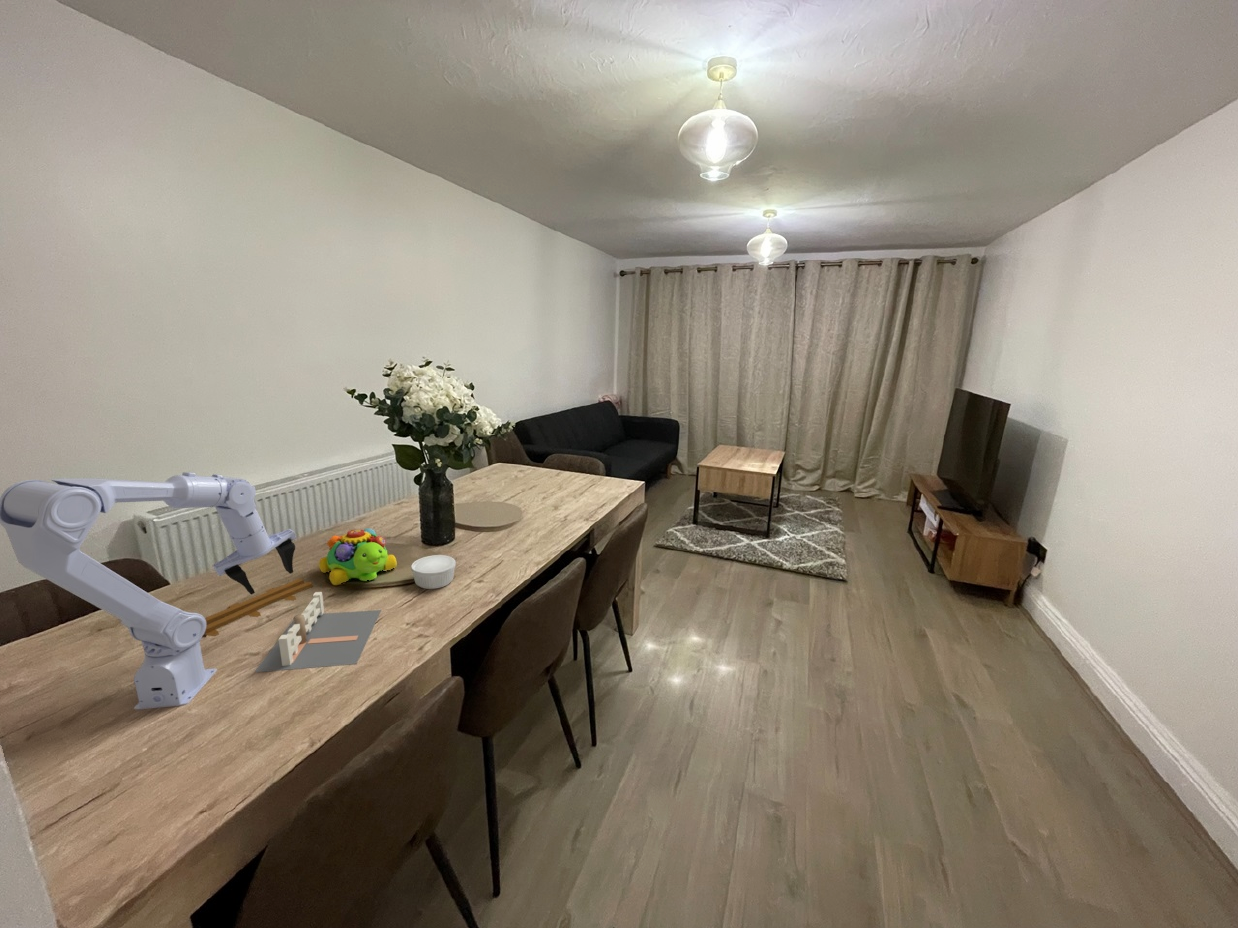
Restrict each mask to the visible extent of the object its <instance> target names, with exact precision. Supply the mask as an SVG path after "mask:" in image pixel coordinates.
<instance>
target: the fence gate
mask: <svg viewBox="0 0 1238 928" xmlns="http://www.w3.org/2000/svg"><path fill="white" fill-rule="evenodd" d="M324 606H325V605H324V597H323V592H322V591H315V592H314V593H313V595H312V599H311V601H310V602H309V604H308V605H307V606H306V608H305V609H304V610H303V612H302V613H301V614H300V615H304V620H305V628H306V633H307V632H310V631H311V629H312V628H311V625H312V624H315V623H316V622H317V616H319V615H323V614H325V609H324V608H325V607H324Z"/></svg>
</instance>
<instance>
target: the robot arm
mask: <svg viewBox="0 0 1238 928" xmlns="http://www.w3.org/2000/svg"><path fill="white" fill-rule="evenodd" d="M50 481H51V482H53V483H51V482H49V481H46V480H41V479H27V480H21V481H19V482H15V483H14V484H12V485H10V486H9V487H7V488H6V489H5V490H4V491H3V493H2V494H1V495H0V526H2V527H3V529H4V530H5V531H6V534H7V537H8V539H9V542H10V544H11V546H12V549H13V551H14V554H15V557H16V560H17V561H18V563H19V564H20V565H21V566H22V567H23V568H25V569H27V570H29V571H31V572H33V573H35V574H36V575H38V576H40V577H42V579H43V578H44V579H45V580H47V581H49V582H51V583H53V584H55V585H56V586H58V587H60V588H62V589H63V590H66V591H67V592H69V593H71V594H73V595H75V596H77V597H79V598H81V599H82V600H84V601H86V602H88V603H90V604H91V605H93V606H95V607H97V608H98V609H99V610H102V611H104V612H105V613H108V614H110V615H111V616H113V617H115V618H117V619H119V620H120V624H121V625H123V626H125V628H127V630H128V631H129V633H130V636H131V637H132V638H133V639H134V640H136V641H140V642H141V644H142V648H143V651H144V658H143V662H142V664H141V665H140V667H139V668H138V670H137V671H136V672H135V674H134V676H133V677H134V678H133V682H134V687H135V691H136V694H137V695H136V696H137V700H138V702H137V704H136V705H135V706H134V707H133V708H134V710H145V709H156V708H167V707H178V706H187V705H188V704H189V703H191V701H193V699H194V698H195V697H196V695H197V694H198V693H199V692H200V691H201V690H202V689H203V688H204V686H206V683H208V682H209V680H211V678H212V677H213V676H214V675H215V673H217V671H218V669H217V668H205V664H204V659H203V653H202V648H201V643H200V642H201V641H202V640H201V639H202V637H203V636H205V635H204V633H205V630H206V620H205V618H206V617H204V615H202V614H200V613H198V612H189V611H185V610H182V609H180V608H179V607H176V606H174V605H171V604H169V603H166V602H164V601H162V600H159V599H158V598H156V597H155V596H153V595H152V594H151V593H149V592H147V591H145V590H143V589H142V588H140V587H139V586H137V585H135V584H134V583H133V582H131V581H129V580H128V579H127V578H125V577H123V576H121V575H120V574H118V573H116V572H115V571H113V570H111V569H110V568H108V567H107V566H105V565H104V564H102V563H100V562H99V561H97V560H96V559H94V558H93V557H91V556H89V555H88V554H86V553H84V552H82V551H81V546H82V544H83V543H84V541H85V539H86V538H87V536H88V534H89V533H90V532H91V530H92V527H93V526H94V524H95V523H96V521H97V519H98V517H99V515H100V513H103V514H107V513H109V512H110V511H111V510H112V508H113V507H114V505H115V504H117V503H136V502H137V503H138V502H139V503H140V502H141V503H143V502H164V503H165V504H166V505H167V506H168V507H170V508H172V509H185V508H186V509H193V508H202V509H203V508H215V509H216V511H217V514H218V516H219V518H220V519H221V522H222V524H223V525H224V527H225V529H226V532H227V533H228V536H229V537H230V540H231V542H232V544H233V546H234V547H235V549H236V550H234V551H233V552H231V553H230V554H228V555H227V556H225V557H224V558H222V559H221V560H220V561H217V562H216V563H214V564H212V567H213V570H214V571H215V573H216V574H217V575H218V576H219V577H222V576H223V575H227V577H229V578H230V579H231V580H232V581H235V582H237V583H238V584H240V585H242V586H243V588H245V590H246V591H247V593H249V595H253V594H255V593H256V592H255V590H254V588H253V586H252V585H251V583H250V581H249V579H248V577H247V573H246V571H244V569H242V567H241V566H240V565H242V564H244V563H246V562H249V561H253V560H257V559H259V558H262V557H263V556H266V555H267V554H268V553H270V552H272V550H274V549H275V550H276V551H277V553H278V555H279V557H280V559H281V561H282V565H283V567H284V569H285V571H286V572H287V573H289V574H290V575H291V574H294V567H293V561H294V560H293V559H294V554H295V550H296V545H295V543H294V542H293V541H295V540H297V536H296V533H295V531H294V530H292V529H291V528H288V529H285V530H283V531H281V532H277V533H274V534H271V535H269V534H268V533H267V530H266V527H265V526H264V523H263V521H262V519H261V517H260V514H259V512H258V510H257V505H256V502H255V497H256V494H257V492H256V491H257V490H256V487H255V485H252V484H251V482H249V481H247V480H246V479H243V478H237V477H230V476H224V475H222V474H217V473H216V474H214V473H213V474H212V475H211V476H203V475H197V473H195V472H190V471H189V472H188V471H187V472H186V471H183V472H182V474H178V475H177V474H176V475H175V474H174V475H172V476H171V477H169V478H167V480H165V481H147V480H131V479H130V480H129V479H114V478H97V477H96V478H95V477H94V478H93V477H90V478H87V477H86V478H84V477H83V478H79V477H77V478H75V477H73V478H52V479H50Z"/></svg>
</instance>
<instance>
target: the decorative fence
mask: <svg viewBox="0 0 1238 928" xmlns="http://www.w3.org/2000/svg"><path fill="white" fill-rule="evenodd" d="M312 587H314V584H313V583H312V582H310V581H306V582H305V580H304V579H302V578H297V579H295V580H292V581H290V582H288V583H286V584H283V585H280V586H278V587H275V588H274V587H271V588H269V589H267V590H265V592H264V593H262V594H259V595H256V596H254V597H252V598H249V599H247V600H245V601H242V602H240V603H239V602H236V603H233V604H230V605H228V607H227V608H226V609H223V610H220V611H219V612H217V613H216V612H215V613H214V614H212V615H209V616H206V617H204V618H205V620H206V630H205V633H204V635H203V636H205V637H207V636H209V637H216V636H218V635H219V634H220V633H219V631H218V629H220V628H222V627H225V626H226V625H229V624H231V623H233V622H235V621H238V620H240V619H242V618H244V617H246V616H250V617H251V618H253V617H254V618H258V617H260V616H261V612H260V611H258V610H260V609H263V608H265V607H267V606H269V605H272V604H274V603H276V602H279V601H281V600H286V601H296V600H297V597H296V596H295V594H298V593H301V592H303V591H305V590H307V589H310V588H312Z"/></svg>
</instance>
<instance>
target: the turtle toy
mask: <svg viewBox="0 0 1238 928" xmlns="http://www.w3.org/2000/svg"><path fill="white" fill-rule="evenodd" d="M326 545H327V546H328V547H329V548H328V552H327V555H326V556H324V557H321V558H320V559H319V562H318V567H319V569H320V572H321V573H324V574H327V573H326V572H328V571H331V572H328V573H329V577H328V579H329V580H330V583H331V584H332V586H338V585H342V584H341V583H342V582H345V581H348V582H349V581H350V580H351V579H358V580H359V581H362V582H368V581H367V580H369V581H371V580H374V579H377V577H378V575H377V573H378V572H383V571H382V570H389V569H392V568H395V567H396V568H397V565H398V563H397V558H396V557H395V555H394V554H388V550H387V548H386V539H385V538H384V537H383V536H382V535H381V536H380V535H377V534H376V531H375V530H374V529H372V528H369V527H368V528H365V529H351V530H349V531H348V532H347V533H346V534H344V535H340V536H339V535H333V536H332V537H331V538H330V539H329V540H328V541H327V543H326ZM396 568H395V569H396ZM349 579H350V580H349Z"/></svg>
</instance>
